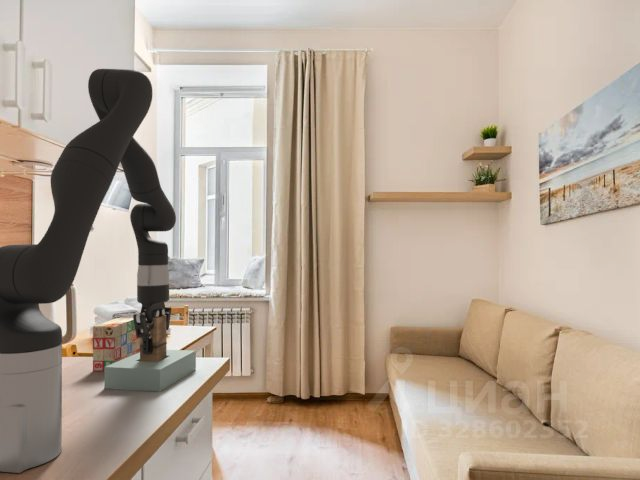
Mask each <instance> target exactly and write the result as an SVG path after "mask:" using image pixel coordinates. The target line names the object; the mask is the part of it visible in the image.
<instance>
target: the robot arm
mask: <svg viewBox="0 0 640 480" xmlns="http://www.w3.org/2000/svg"><path fill="white" fill-rule="evenodd" d="M87 81H88V83H87V89H88V95H89V99H90V102H91V103H92V107H93V109H94V111H95V113H96V116H97V117H98V120H99V121H98V122H95V124H92V125H91V126H90V127H87V128H85V130H83V131H82V132H80V133H79V134H78V135H76V136H75V137H73V139H72V138H71V140H70V141H69V142H68V143H67V144H66V146H65V147H64V149H62V152H61V154H60V155H59V157H58V160H57V161H56V163H55V164H54V166H53V169H52V171H51V174H50V189H51V195H52V201H53V205H54V213H53V217H52V219H51V221H50V224H49V226H48V227H47V230H46V231H45V233H44V235H43V237H42V238H41V240H40V241H39V242H38V243H37V244H32V243H31V244H30V243H29V244H7V245H2V246H0V472H2V473H4V472H5V473H13V474H14V473H15V474H20V473H22V472H24V471H26V470H28V469H31V468H32V469H33V468H35V467H38V466H41V465H44V464H46V463H47V462H50V461H52V460H53V459H55V458H57V457H58V456H59V455H60V454H61V453H62V450H63V449H62V448H63V445H62V443H63V442H62V441H63V437H62V436H63V435H62V434H63V428H62V427H63V425H62V424H63V418H62V417H63V415H62V414H63V413H62V412H63V410H62V409H63V408H62V407H63V401H62V399H63V397H62V396H63V392H62V391H63V389H62V388H63V384H62V383H63V373H62V372H63V329H62V328H61V326H60V325H59V324H58V323H56V322H54V321H52V320H50V319H49V318H48V317H46V316H45V315H44V314H43V312H42V311H41V310H40V304H41V305H43V304H53V303H55V302H58V301H59V300H61V299H62V298H63V297H64V296H66V294H67V293H68V291H69V290H70V289H71V287H72V285H73V284H74V280H75V279H76V275H77V272H78V269H79V267H80V264H81V261H82V257H83V253H84V251H85V247H86V244H87V241H88V238H89V235H90V232H91V229H92V227H93V225H94V222H95V220H96V217H97V215H98V213H99V210H100V208H101V205H102V203H103V201H104V199H105V197H106V195H107V193H108V191H109V189H110V186H111V185H112V182H113V180H114V178H115V176H116V174H117V172H118V168H119V166H120V165H121V167H122V170H123V174H124V177H125V181H126V183H127V186H128V189H129V193H130V195H131V197H132V198H133V200H135V202H140V203H138V204H135V205H134V206H133V207H132V209H131V211H130V215H129V218H130V224H131V227H132V231H133V234H134V237H135V240H136V245H137V254H138V255H137V259H138V260H137V263H138V266H137V272H136V295H137V296H136V300H137V303H139V304H141V308H140V312H139V313H138V314H137V313H134V314H133V315H132V318H133V319H134V325H135V331H136V336H137V337H139V338H141V339H142V340H143V354H152V352H153V348H152V346H153V339H152V336H153V329H154V328H155V318H157V317H159V316H164V315H166V331H168V330H169V329H170V324H171V323H170V322H171V316H172V315H171V314H172V307H170V306H166V304H165V303H166V302H169V301H170V270H169V246H168V244H167V242H165V241H162V240H155V239H154V238H152V237H151V236H150V233H149V232H169V231H171V230H172V229H173V228H174V227H175V225H176V221H177V217H176V216H177V215H176V211H175V209H174V207H173V205H172V204H171V201H170V200H169V199H168V197H167V195H166V194H165V191H163V188H162V186H161V182H160V179H159V175H158V170H157V167H156V164H155V162H154V160H153V159H152V157H151V156H150V155H149V153H148V152H147V150H146V149H145V148H144V147H143V146H142V145H141V143H139V142H138V140H137V139H136V138H135V137H134V136H135V134H136V132H137V131H138V130H139V128H140V126H141V125H142V123H143V121H144V120H145V118H146V116H147V114H148V112H149V111H150V108H151V104H152V101H153V85H152V83H151V80H150V78H149V77H148V75H147V74H145V73H144V72H141V71H138V70H135V69H126V68H125V69H122V68H121V69H120V68H97V69H95V70H93V71H92V72H91V73H90V75H89V77H88V80H87ZM152 318H153V320H152ZM147 323H152V325H150V326H148V325H147ZM140 329H142V332H141V331H140ZM148 329H149V333H148Z"/></svg>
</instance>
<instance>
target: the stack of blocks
mask: <svg viewBox="0 0 640 480" xmlns="http://www.w3.org/2000/svg"><path fill="white" fill-rule="evenodd" d="M139 352H140V338H139V337H137V336H136V331H135V325H134V319H133V317H130V318H129V317H127V318H126V317H124V318H123V317H121V318H119V317H117V318H114V319H111V320H107V321H105V322H102V323H98V324H95V325H93V326H92V372H98V371H104V367H106V366H108V365H110V364H113V363H115V362H118V361H120V360H122V359H125V358H127V357H130V356H132V355H134V354H137V353H139Z"/></svg>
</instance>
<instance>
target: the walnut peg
mask: <svg viewBox="0 0 640 480" xmlns="http://www.w3.org/2000/svg"><path fill="white" fill-rule="evenodd" d="M152 320H153V318H152ZM147 325H148V326H150V325H152V323H147ZM140 331H141V332H142V329H140ZM148 333H149V329H148ZM152 339H153V346H152V348H153V352H152V354H143V340H142V339H141V338H140V361H148V362H159V361H161V360H163V359H165V358H166V350H167V344H168V343H167V342H168V341H167V330H166V315H164V316H159V317H157V318H155V328H154V329H153V336H152Z"/></svg>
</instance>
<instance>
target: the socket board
mask: <svg viewBox="0 0 640 480" xmlns="http://www.w3.org/2000/svg"><path fill="white" fill-rule="evenodd" d="M196 354H197V352H196V350H187V349H186V350H182V349H166V358H165V359H163V360H161V361H159V362H148V361H140V352H139V353H137V354H134V355H132V356H130V357H127V358H125V359H122V360H120V361H118V362H115V363H113V364H110V365H108V366H106V367H104V378H103V379H104V381H103V382H104V385H103V388H104V390H105V389H106V390H107V389H108V390H109V389H110V390H121V391H122V390H125V391H143V392H161V391H163V390H165V389H167V388H168V387H170V386H171V385H173V384H175V383H176V382H178V381H180V380H181V379H183V378H185V377H186V376H188V375H189V374H191V373H192V372H194V371H196V369H197V363H196V362H197V355H196Z"/></svg>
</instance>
